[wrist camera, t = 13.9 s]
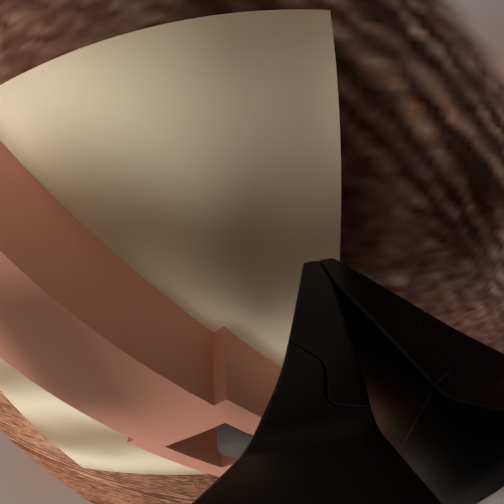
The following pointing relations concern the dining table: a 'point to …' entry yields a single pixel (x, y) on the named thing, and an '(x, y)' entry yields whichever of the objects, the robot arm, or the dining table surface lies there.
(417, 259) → the dining table surface
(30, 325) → the link
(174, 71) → the board
